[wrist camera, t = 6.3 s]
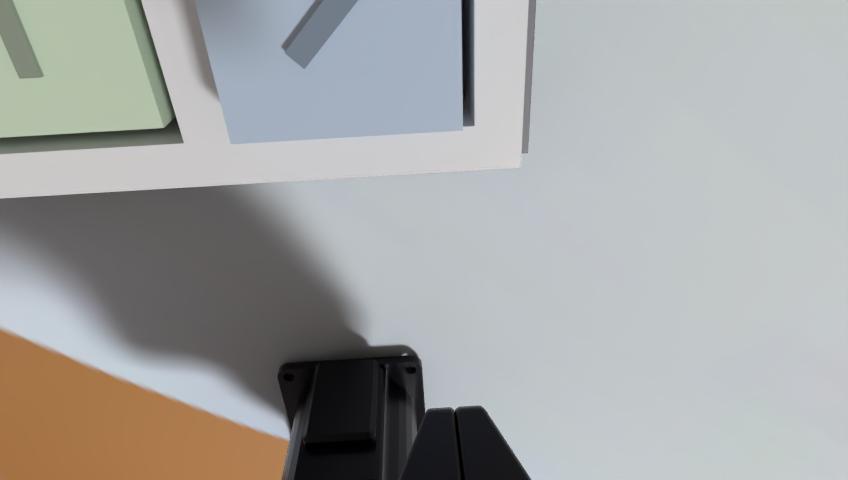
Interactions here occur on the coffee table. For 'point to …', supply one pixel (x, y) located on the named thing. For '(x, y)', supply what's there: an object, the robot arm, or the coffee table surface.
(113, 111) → the sage key
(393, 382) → the robot arm
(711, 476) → the coffee table surface
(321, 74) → the slate key
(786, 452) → the coffee table surface
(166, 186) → the keypad
